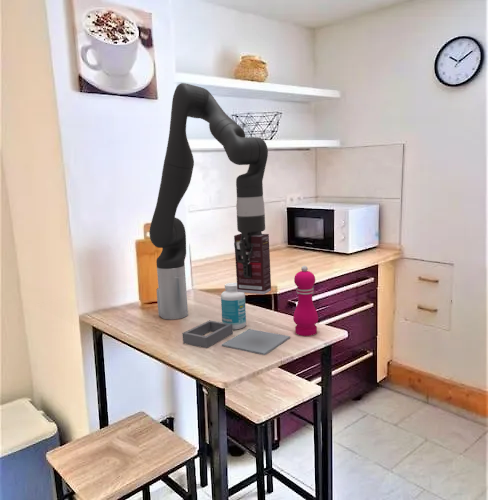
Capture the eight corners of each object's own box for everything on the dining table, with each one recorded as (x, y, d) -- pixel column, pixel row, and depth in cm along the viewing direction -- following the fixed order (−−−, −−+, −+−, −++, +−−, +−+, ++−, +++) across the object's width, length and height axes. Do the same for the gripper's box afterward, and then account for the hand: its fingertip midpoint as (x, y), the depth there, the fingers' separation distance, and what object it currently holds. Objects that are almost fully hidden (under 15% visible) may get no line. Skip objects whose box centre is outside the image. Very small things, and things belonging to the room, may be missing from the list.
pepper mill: (321, 335, 134) (320, 267, 131) (297, 337, 133) (295, 269, 129) (314, 327, 141) (312, 262, 138) (290, 329, 140) (288, 264, 136)
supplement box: (272, 290, 129) (269, 233, 126) (264, 295, 125) (262, 236, 122) (244, 287, 133) (241, 232, 130) (236, 292, 129) (233, 235, 126)
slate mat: (221, 346, 129) (221, 344, 129) (249, 330, 141) (249, 328, 141) (264, 355, 122) (264, 353, 122) (290, 337, 133) (290, 336, 133)
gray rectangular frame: (183, 343, 133) (182, 333, 133) (210, 329, 143) (209, 320, 143) (206, 348, 128) (205, 337, 128) (232, 333, 139) (232, 324, 138)
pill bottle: (243, 330, 141) (241, 287, 139) (219, 330, 142) (217, 287, 140) (248, 322, 148) (246, 281, 146) (225, 322, 150) (223, 281, 147)
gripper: (247, 216, 117) (250, 282, 120) (276, 211, 129) (278, 271, 132) (223, 216, 121) (227, 280, 124) (253, 210, 133) (255, 269, 136)
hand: (253, 275), depth 128 cm, fingers closed on supplement box, 5 cm apart
